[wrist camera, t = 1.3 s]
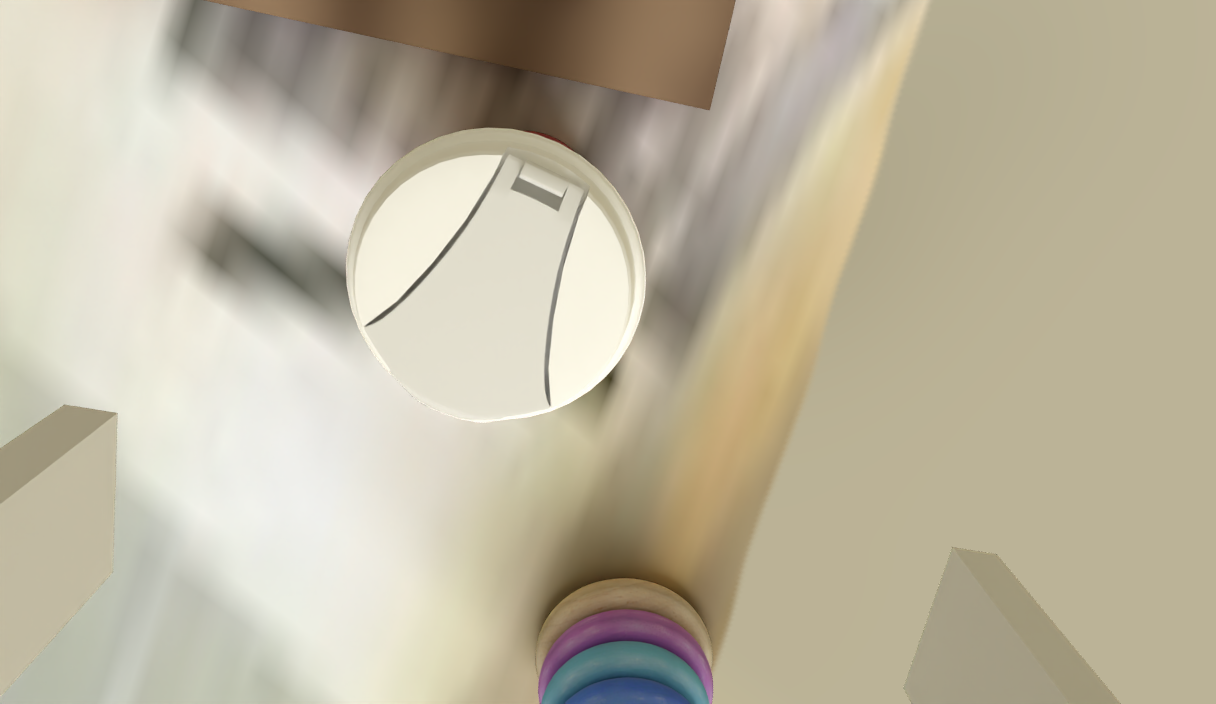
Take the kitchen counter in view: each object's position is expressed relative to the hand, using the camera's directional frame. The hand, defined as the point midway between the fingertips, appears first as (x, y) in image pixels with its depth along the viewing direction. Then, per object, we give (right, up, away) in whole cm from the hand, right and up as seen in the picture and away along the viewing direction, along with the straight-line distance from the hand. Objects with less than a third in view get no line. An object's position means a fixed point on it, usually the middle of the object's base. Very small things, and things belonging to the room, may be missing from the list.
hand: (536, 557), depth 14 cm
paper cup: (-2, +9, +21) cm, 23 cm away
